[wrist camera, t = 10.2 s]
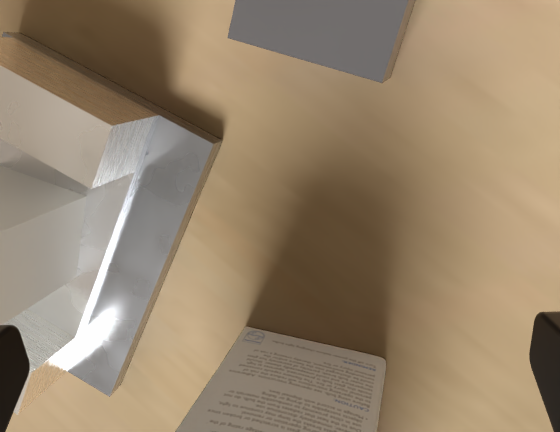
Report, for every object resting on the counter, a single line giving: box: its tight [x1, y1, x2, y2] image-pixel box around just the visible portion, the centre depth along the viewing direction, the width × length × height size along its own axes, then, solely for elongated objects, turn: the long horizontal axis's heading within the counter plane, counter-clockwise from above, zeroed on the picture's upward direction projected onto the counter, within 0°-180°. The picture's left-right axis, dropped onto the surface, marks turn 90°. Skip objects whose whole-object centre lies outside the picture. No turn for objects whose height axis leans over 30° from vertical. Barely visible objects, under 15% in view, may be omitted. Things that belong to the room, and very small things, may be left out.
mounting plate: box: [0, 32, 223, 414], centre depth 22 cm, size 10×14×4 cm
